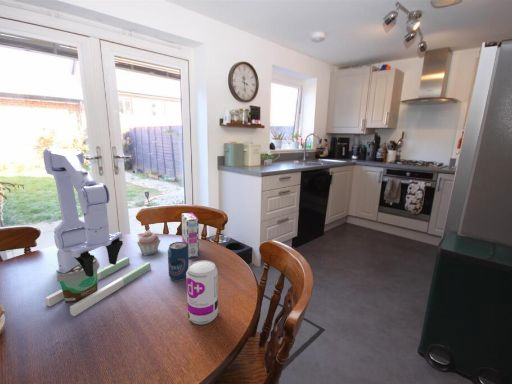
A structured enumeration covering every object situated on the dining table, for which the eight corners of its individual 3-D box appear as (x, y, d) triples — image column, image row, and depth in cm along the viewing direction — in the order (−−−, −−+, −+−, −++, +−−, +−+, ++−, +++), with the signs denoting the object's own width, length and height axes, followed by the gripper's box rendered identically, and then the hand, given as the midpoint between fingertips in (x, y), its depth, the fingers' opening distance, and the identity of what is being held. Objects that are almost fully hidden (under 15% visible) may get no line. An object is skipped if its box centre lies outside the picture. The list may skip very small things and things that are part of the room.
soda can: (167, 282, 86) (166, 250, 84) (170, 272, 93) (168, 241, 90) (188, 280, 87) (187, 248, 85) (189, 270, 94) (188, 240, 92)
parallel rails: (46, 305, 73) (45, 297, 73) (126, 262, 99) (126, 256, 98) (74, 316, 69) (73, 308, 68) (150, 268, 95) (150, 262, 94)
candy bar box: (199, 256, 106) (198, 219, 102) (187, 258, 103) (186, 220, 100) (193, 246, 115) (192, 211, 112) (182, 248, 113) (180, 213, 110)
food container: (78, 309, 72) (74, 277, 70) (60, 305, 73) (56, 274, 71) (111, 285, 84) (108, 257, 82) (95, 282, 85) (92, 255, 83)
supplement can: (203, 330, 65) (202, 277, 62) (181, 318, 69) (179, 268, 66) (223, 313, 72) (223, 264, 69) (202, 302, 76) (201, 256, 73)
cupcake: (165, 248, 112) (164, 227, 110) (152, 258, 103) (151, 235, 101) (147, 246, 114) (145, 225, 112) (132, 255, 105) (130, 232, 103)
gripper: (82, 237, 65) (88, 285, 67) (128, 220, 78) (131, 261, 81) (63, 233, 67) (69, 279, 70) (111, 217, 80) (115, 257, 83)
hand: (101, 269), depth 75 cm, fingers open, 7 cm apart
